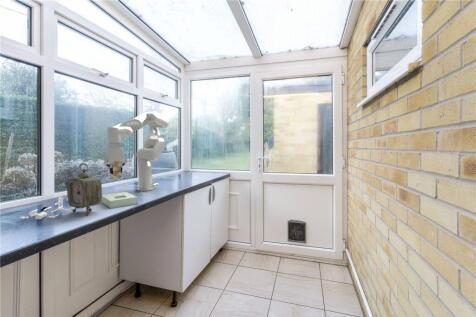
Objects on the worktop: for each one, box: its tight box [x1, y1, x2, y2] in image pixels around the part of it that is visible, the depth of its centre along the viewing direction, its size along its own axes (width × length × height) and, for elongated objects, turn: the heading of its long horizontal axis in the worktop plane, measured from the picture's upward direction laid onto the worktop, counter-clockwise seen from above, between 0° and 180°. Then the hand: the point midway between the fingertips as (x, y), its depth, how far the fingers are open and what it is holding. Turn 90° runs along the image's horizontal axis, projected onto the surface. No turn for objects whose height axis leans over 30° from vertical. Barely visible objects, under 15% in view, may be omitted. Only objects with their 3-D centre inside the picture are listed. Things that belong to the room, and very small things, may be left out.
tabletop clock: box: [66, 162, 103, 216], centre depth 114 cm, size 14×9×25 cm, turn 64°
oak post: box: [111, 161, 122, 180], centre depth 148 cm, size 4×4×11 cm
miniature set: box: [19, 196, 75, 220], centre depth 119 cm, size 6×35×12 cm
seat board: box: [100, 191, 138, 209], centre depth 134 cm, size 14×20×4 cm
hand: (116, 173), depth 148 cm, fingers closed on oak post, 4 cm apart
